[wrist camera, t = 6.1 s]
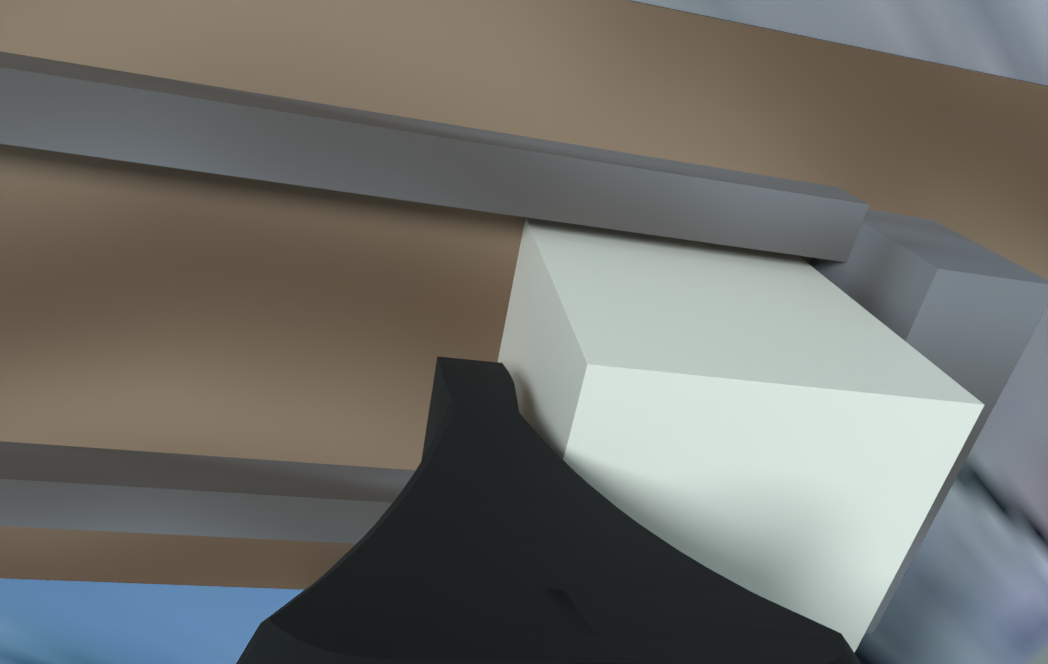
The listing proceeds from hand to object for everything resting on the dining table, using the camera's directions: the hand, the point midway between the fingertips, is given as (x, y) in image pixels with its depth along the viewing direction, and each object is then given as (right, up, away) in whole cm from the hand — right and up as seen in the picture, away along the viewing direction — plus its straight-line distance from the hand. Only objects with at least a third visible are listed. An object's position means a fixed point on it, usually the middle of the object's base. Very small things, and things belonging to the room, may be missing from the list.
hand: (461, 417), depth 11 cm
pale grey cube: (+3, +1, +3) cm, 4 cm away
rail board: (0, +2, +3) cm, 4 cm away
